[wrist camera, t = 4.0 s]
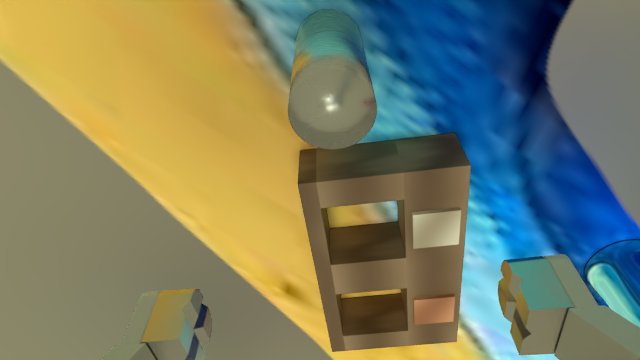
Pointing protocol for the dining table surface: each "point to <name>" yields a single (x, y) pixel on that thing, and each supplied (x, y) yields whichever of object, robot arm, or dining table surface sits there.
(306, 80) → the grey cylinder
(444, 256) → the socket block
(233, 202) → the dining table surface
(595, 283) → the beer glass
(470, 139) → the dining table surface
